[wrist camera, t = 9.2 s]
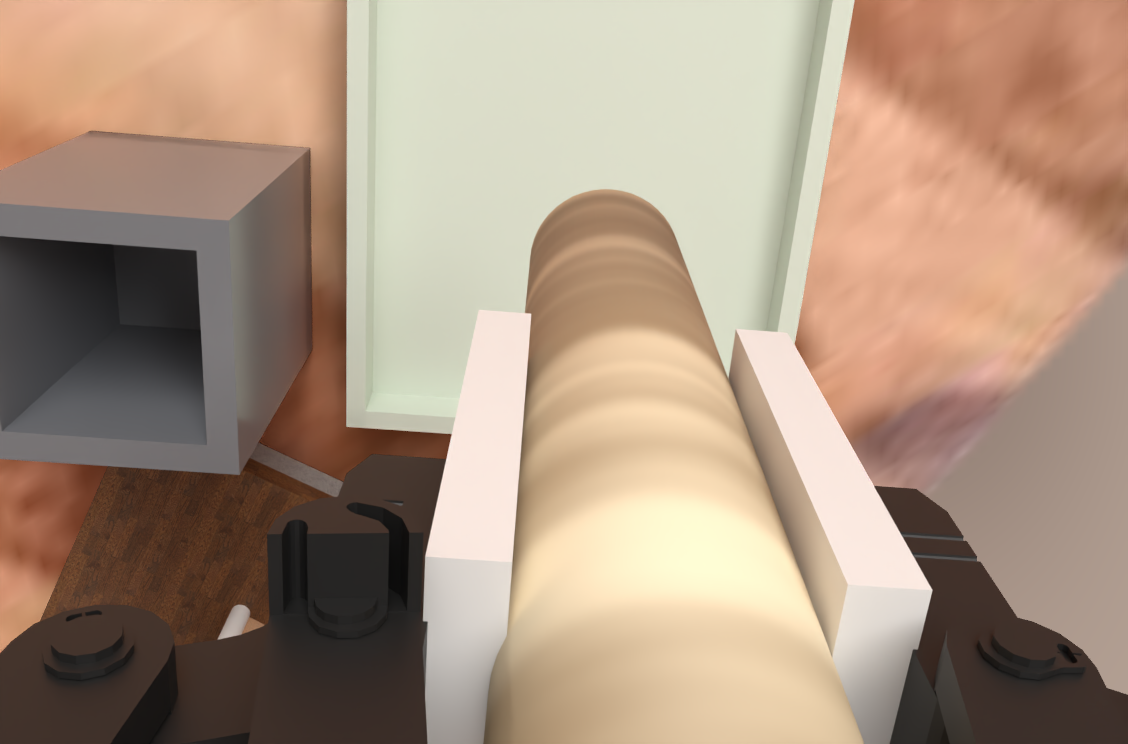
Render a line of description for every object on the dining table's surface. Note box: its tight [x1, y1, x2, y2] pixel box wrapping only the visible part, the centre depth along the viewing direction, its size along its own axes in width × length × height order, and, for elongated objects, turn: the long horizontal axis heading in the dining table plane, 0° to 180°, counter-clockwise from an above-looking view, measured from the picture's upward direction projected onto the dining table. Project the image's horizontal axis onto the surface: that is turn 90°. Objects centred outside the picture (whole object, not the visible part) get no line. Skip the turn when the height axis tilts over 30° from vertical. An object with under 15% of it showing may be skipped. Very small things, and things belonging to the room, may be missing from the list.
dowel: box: [483, 189, 864, 744], centre depth 15 cm, size 3×3×17 cm
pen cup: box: [0, 131, 312, 475], centre depth 31 cm, size 7×7×9 cm
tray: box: [346, 0, 855, 434], centre depth 32 cm, size 18×14×2 cm
